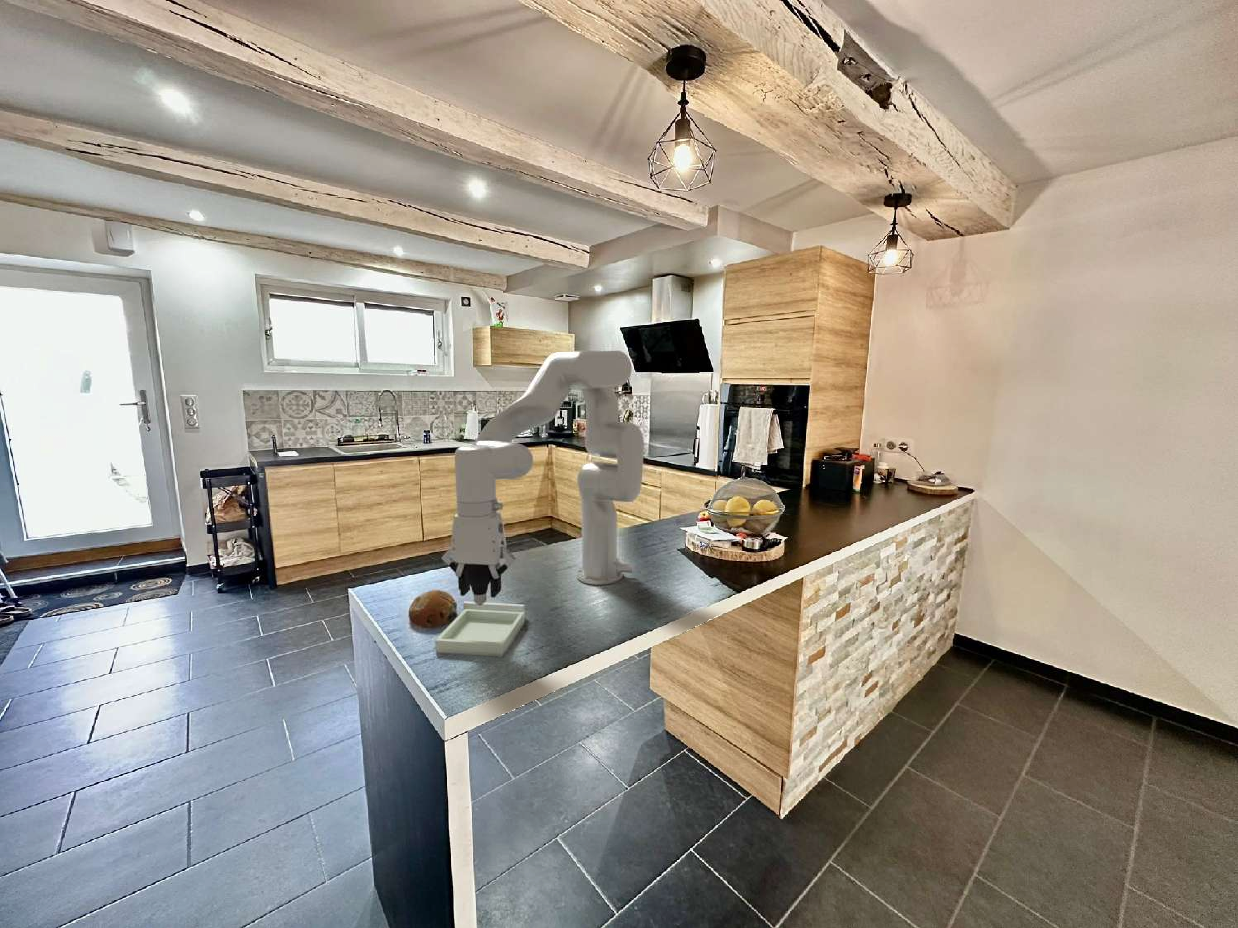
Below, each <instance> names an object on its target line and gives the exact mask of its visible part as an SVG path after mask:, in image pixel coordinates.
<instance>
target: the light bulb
mask: <svg viewBox="0 0 1238 928" xmlns="http://www.w3.org/2000/svg"><path fill="white" fill-rule="evenodd" d="M464 575H465V579H466V581H467V582H468V583H469V584H470V589H471V591H472V594H473V602H475V603H476V604H478V605H482V604H483V603H487V592H488V589H489V585H490V579H491V578H492V574H491V571H490V569H489V566H488V565H479V564H467V565H466V567H465V570H464Z"/></svg>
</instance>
